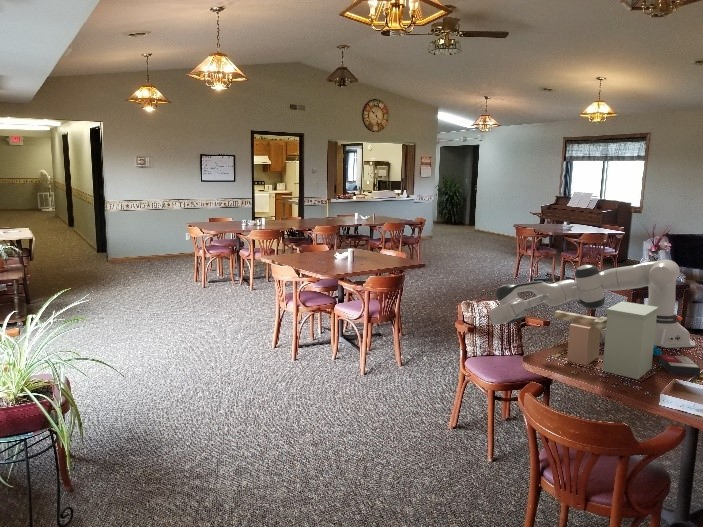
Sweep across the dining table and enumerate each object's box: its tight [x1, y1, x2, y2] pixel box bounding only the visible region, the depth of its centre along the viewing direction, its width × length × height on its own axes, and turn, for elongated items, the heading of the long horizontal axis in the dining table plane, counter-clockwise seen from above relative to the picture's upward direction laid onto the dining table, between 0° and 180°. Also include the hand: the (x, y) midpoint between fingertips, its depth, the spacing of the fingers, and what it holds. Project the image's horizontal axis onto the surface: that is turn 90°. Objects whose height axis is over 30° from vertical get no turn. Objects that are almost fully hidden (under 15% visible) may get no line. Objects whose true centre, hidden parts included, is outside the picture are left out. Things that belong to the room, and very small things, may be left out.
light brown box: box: [566, 322, 601, 366], centre depth 233 cm, size 8×14×16 cm, turn 136°
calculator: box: [658, 354, 701, 377], centre depth 223 cm, size 11×4×15 cm
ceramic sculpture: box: [600, 328, 606, 345], centre depth 253 cm, size 11×9×15 cm
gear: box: [653, 345, 663, 357], centre depth 237 cm, size 11×6×10 cm
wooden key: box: [553, 309, 607, 329], centre depth 233 cm, size 21×10×3 cm, turn 46°
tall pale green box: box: [602, 300, 659, 380], centre depth 220 cm, size 14×18×26 cm
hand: (544, 297), depth 243 cm, fingers open, 8 cm apart
